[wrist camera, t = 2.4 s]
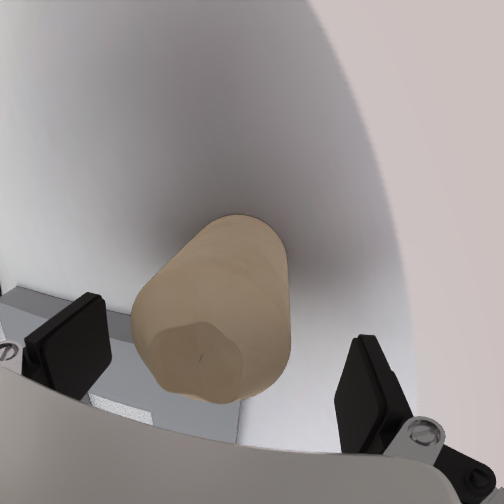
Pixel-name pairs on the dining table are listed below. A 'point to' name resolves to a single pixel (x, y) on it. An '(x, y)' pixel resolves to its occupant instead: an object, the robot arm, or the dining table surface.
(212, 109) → the dining table surface
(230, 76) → the dining table surface
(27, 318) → the dock
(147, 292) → the candle
